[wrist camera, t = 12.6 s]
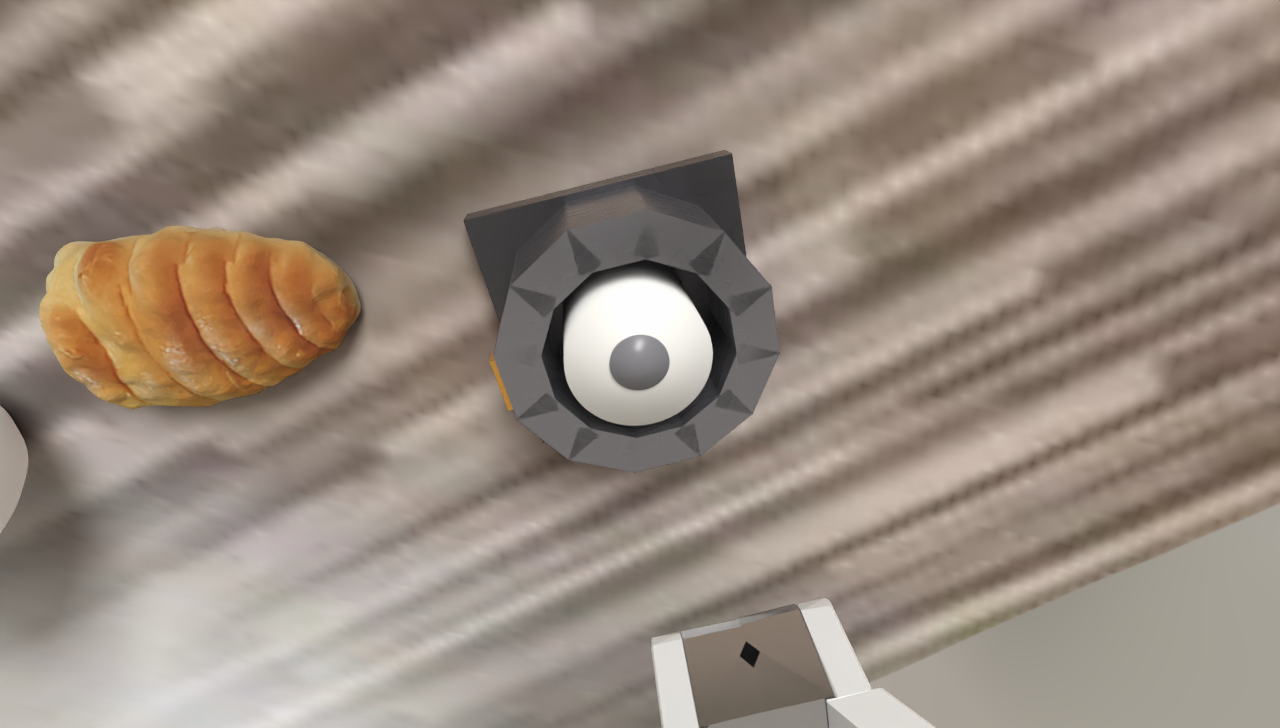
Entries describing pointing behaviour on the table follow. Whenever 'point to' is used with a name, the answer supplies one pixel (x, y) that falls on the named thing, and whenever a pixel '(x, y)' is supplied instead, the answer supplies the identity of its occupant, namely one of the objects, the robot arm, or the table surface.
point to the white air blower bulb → (11, 466)
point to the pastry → (192, 314)
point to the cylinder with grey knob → (634, 344)
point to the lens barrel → (609, 237)
